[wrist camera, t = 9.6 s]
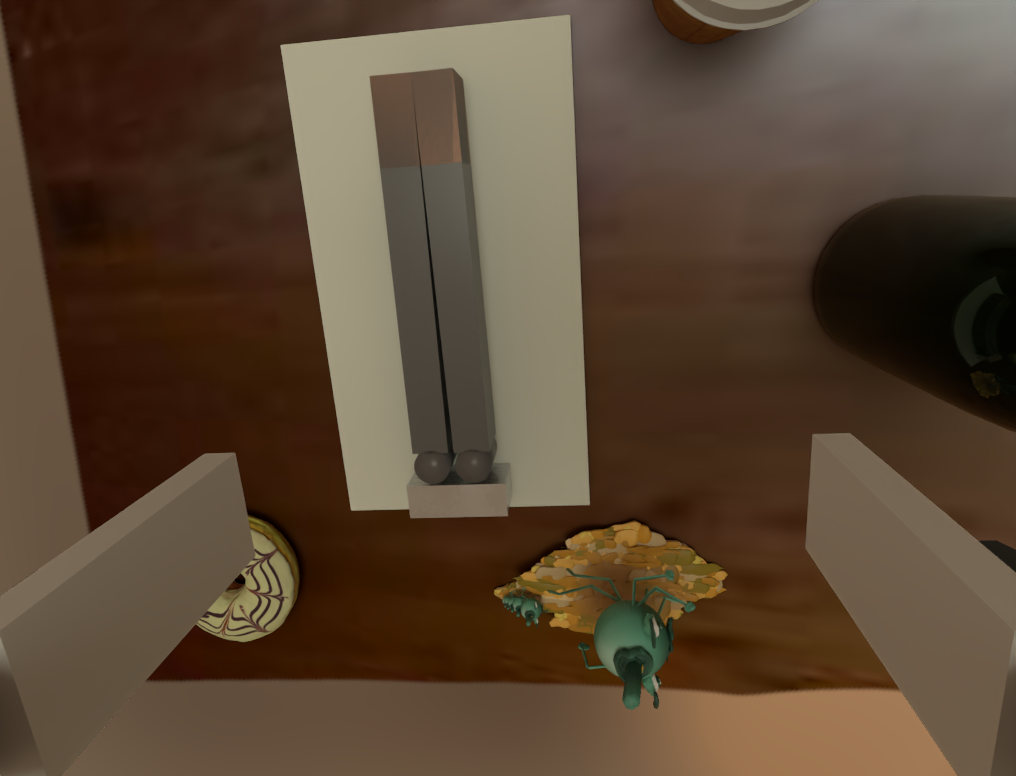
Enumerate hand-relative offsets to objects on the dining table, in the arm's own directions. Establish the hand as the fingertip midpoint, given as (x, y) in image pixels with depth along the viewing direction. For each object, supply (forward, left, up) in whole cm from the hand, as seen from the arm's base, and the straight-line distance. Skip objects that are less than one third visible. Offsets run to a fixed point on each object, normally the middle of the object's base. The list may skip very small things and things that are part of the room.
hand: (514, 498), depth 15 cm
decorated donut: (+26, +20, -31) cm, 45 cm away
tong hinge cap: (+7, +13, -30) cm, 33 cm away
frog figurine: (-3, +21, -31) cm, 38 cm away
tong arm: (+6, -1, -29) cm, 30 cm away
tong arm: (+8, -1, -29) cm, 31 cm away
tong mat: (+7, -1, -31) cm, 31 cm away
